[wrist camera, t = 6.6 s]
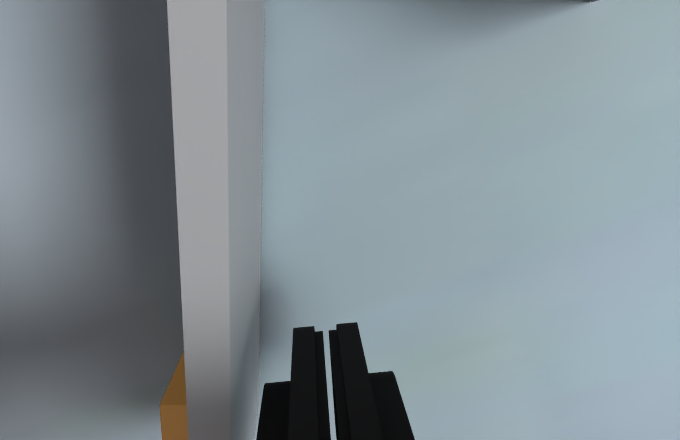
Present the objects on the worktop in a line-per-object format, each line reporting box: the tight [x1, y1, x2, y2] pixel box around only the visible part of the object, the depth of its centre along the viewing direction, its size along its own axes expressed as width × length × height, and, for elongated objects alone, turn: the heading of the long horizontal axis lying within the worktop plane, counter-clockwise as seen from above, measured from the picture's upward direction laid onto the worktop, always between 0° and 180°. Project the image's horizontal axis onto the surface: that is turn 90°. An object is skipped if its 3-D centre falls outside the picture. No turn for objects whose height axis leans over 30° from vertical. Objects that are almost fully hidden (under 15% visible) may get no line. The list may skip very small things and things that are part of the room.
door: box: [160, 0, 265, 440], centre depth 9 cm, size 2×18×6 cm, turn 176°
